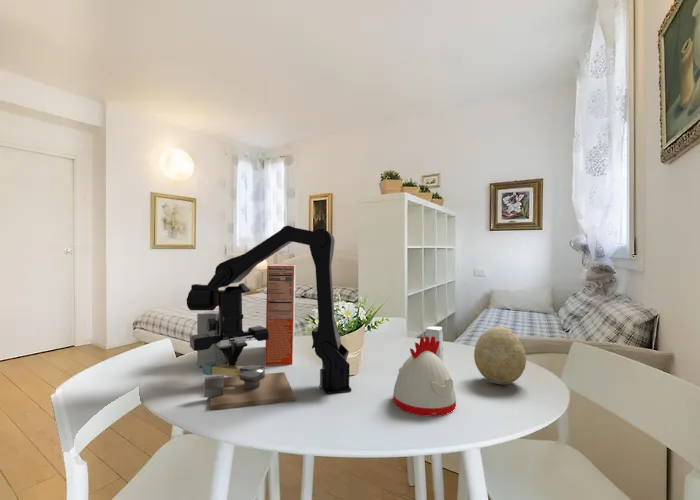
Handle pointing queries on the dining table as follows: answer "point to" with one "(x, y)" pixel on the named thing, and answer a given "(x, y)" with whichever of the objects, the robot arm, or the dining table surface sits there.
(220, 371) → the metal scoop
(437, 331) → the skincare box
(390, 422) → the dining table surface
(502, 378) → the fossilized egg
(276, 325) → the orange upright rectangular box
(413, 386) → the kitchen timer
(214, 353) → the skincare box
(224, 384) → the base
